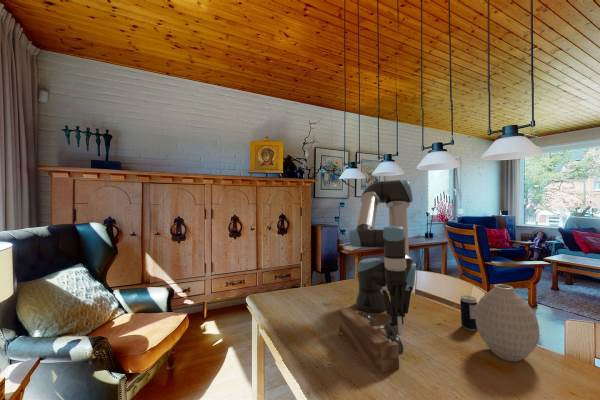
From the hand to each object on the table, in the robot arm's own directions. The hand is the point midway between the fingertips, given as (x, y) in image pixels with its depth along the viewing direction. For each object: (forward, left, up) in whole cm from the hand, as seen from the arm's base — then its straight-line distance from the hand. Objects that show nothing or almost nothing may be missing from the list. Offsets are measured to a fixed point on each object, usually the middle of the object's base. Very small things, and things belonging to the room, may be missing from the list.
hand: (398, 333), depth 94 cm
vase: (-28, +18, -3) cm, 33 cm away
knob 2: (+7, 0, -1) cm, 7 cm away
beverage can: (-33, 0, -3) cm, 33 cm away
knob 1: (+11, -9, -1) cm, 14 cm away
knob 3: (+11, +9, -1) cm, 14 cm away
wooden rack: (+12, 0, -3) cm, 13 cm away
